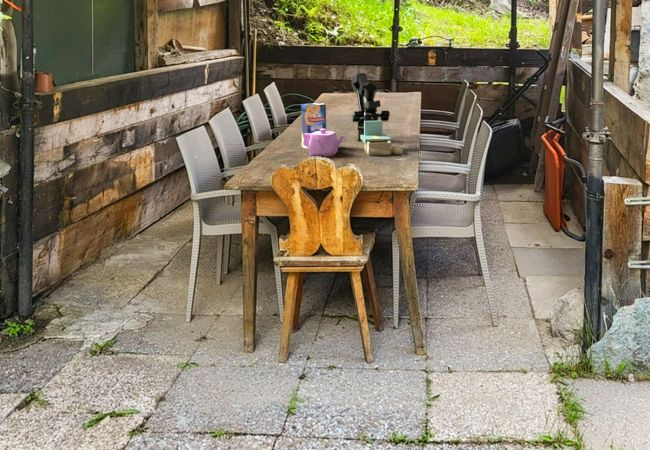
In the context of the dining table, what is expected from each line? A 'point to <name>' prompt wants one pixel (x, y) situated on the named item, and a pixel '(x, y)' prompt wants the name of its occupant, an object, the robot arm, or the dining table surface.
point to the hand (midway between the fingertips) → (372, 129)
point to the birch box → (378, 147)
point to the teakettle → (322, 143)
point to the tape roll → (397, 149)
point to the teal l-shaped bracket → (373, 132)
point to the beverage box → (312, 118)
